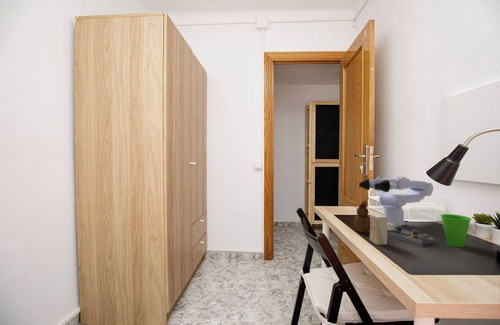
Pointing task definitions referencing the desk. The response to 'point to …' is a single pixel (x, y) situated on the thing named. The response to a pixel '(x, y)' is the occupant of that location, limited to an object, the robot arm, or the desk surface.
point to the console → (410, 236)
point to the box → (378, 229)
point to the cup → (455, 229)
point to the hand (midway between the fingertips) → (367, 185)
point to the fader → (390, 226)
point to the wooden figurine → (362, 218)
